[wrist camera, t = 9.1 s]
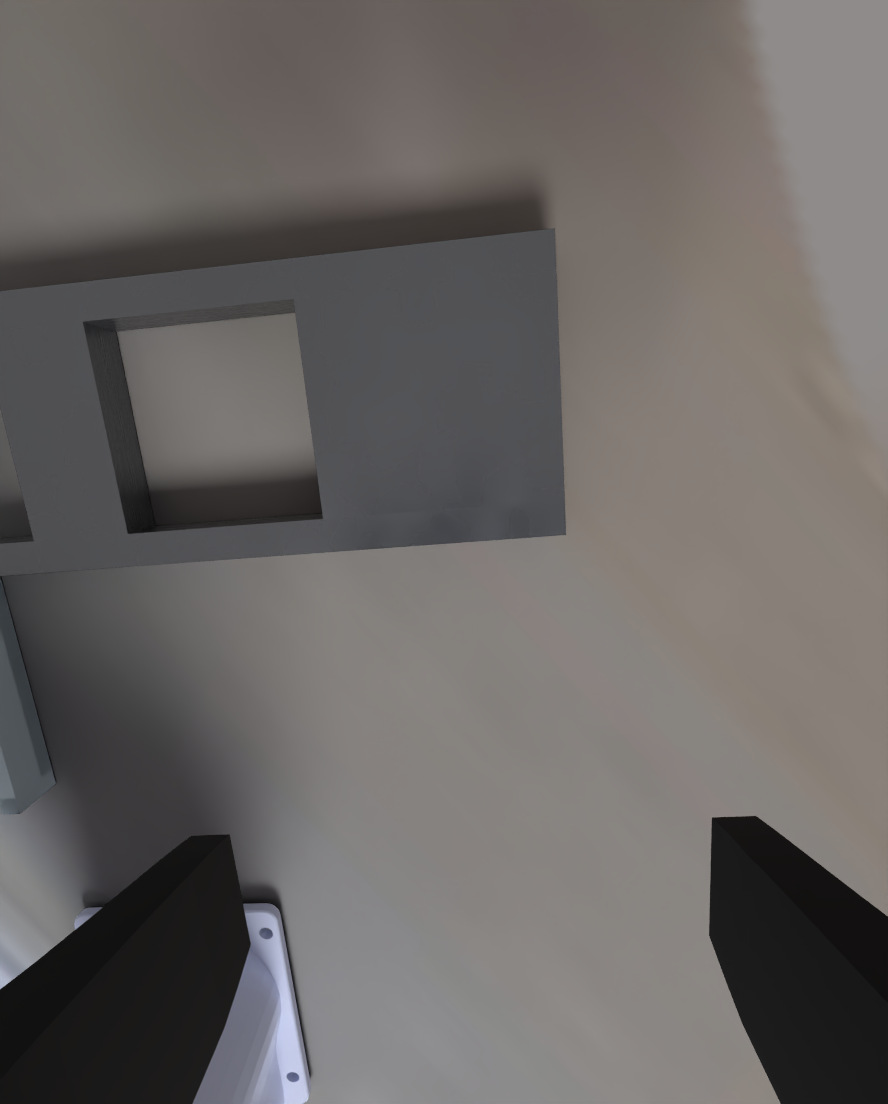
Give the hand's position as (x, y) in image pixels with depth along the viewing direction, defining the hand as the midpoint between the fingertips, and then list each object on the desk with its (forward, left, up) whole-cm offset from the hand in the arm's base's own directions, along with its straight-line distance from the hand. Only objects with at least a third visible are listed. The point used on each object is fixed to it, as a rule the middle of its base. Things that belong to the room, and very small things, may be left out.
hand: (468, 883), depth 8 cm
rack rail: (+8, +10, -10) cm, 16 cm away
